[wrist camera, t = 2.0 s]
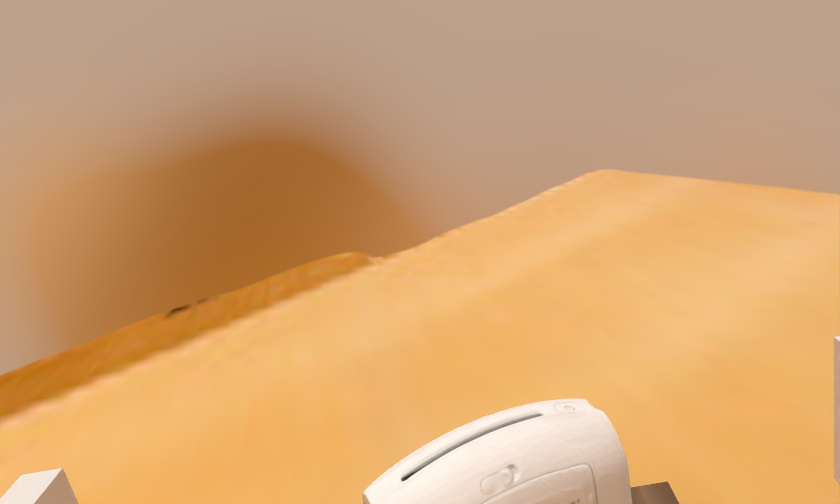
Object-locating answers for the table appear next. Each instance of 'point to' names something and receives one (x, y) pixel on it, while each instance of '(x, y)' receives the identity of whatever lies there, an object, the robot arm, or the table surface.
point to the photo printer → (515, 461)
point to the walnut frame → (653, 494)
